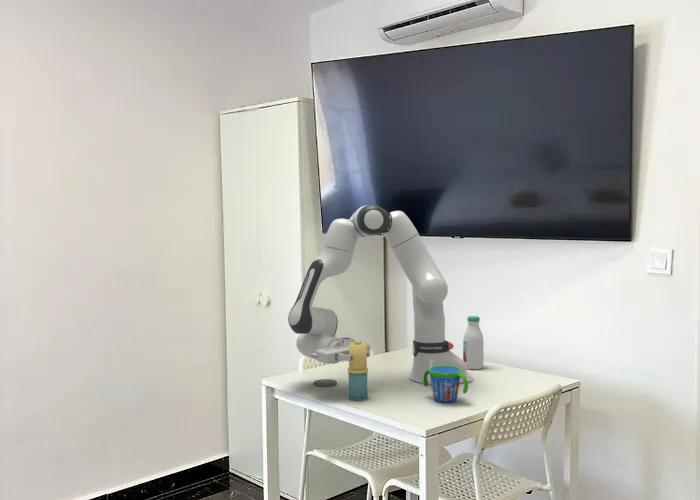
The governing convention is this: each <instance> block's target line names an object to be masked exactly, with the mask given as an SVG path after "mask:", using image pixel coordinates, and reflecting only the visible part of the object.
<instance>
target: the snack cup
mask: <svg viewBox="0 0 700 500" xmlns="http://www.w3.org/2000/svg"><path fill="white" fill-rule="evenodd" d="M428 373H429V374H430V377H431V384H432V385H431V389H432V396H433V399H434V401H436V402H439V403H452V402H456V401H457V399H458V396H459V395H458V394H459V387H460V383H459V381H460V377H461V378H462V379H463V382H464V383H463V391H462V394H466V393H467V392H468V390H469V384H468V383H469V382H467V379H466V376H465V375H464V374H463V373H462V372H461V369H460V368H458V367H454V366H435V367H431V368H430V369H429V370H427V371H426V372H425V374H424V378H423V383H422V384H423V387H428V386H429V384H428V381H427V375H428Z"/></svg>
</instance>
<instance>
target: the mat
mask: <svg viewBox="0 0 700 500" xmlns="http://www.w3.org/2000/svg"><path fill="white" fill-rule="evenodd" d="M313 385H314V386H315V387H319V388H320V387H321V388H330V387H335V386H337V385H338V381H337V380H335V379H330V378H321V379H316V380H314V381H313Z"/></svg>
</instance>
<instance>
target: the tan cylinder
mask: <svg viewBox="0 0 700 500" xmlns="http://www.w3.org/2000/svg"><path fill="white" fill-rule="evenodd" d="M366 343H367V342H364V343H363V341H361V340H356V341H355V342H353V343H349V355H352V361H348V367H347V373H348V374H349V373H354V374H361V373H366V372H367V373H368V372H369V367H368V364H367V363H368V357H367V344H366Z"/></svg>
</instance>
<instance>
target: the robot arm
mask: <svg viewBox="0 0 700 500" xmlns="http://www.w3.org/2000/svg"><path fill="white" fill-rule="evenodd" d="M414 225H415V224H413V222H412V220H411V219H410V218H409V217H408V215H406V213H405V212H404V211H402V210H394V211H391V212H389V211H387V210H385V208H382V207H381V206H379V205H377V204H367V205H362V206H360V207H359V208H358V209H356V210H354V212H353V213H352V214H350V216H349V217H348V219H347V218H336V219H334V220H333V221H332V222H331V223H330V225H329V228H328V229H327V232H326V235H325V238H324V240H323V245H322V249H321V251H320V253H319V255H318V257H317V258H316V259H315V260H314V261H312V262H311V264H310V265H309V268H308V270H307V272H306V275H305V276H304V280H303V282H302V285H301V287H300V289H299V292H298V295H297V297H296V300H295V302H294V304H293V306H292V307H291V309H290V311H289V313H288V317H287V322H288V325H289V327H290V329H291V330H292V332H293V333H295V334H299V335H298V336H297V338H296V343H295V345H296V348H297V351H299V353H301V354H302V355H303V356H304V357H307V358H309V359H314V360H316V361H317V362H320V363H323V364H325V365H326V364H327V365H328V364H334V365H335V364H337V363H339V362H343V361H344V362H345V361H346V362H349V361H352V355H349V343H353V342H355V341H357V340H356V339H355V340H354V338H353V337H337V336H336V333H337V330H338V324H339V322H338V321H339V320H338V316H337V314H336V313H335V311H334V310H333V309H330V308H326V307H325V308H323V307H318V306H313V303H314V300H315V297H316V295H317V294H318V293H317V292H318V290H319V287H320V286H321V284H322V283H323V281H324V280H326V279H328V278H332V277H336V276H338V275H341V274H343V273H344V272H346V271H348V269H349V268H350V266H351V264H352V260H353V257H354V252H355V248H356V247H355V246H356V244H357V241H358V240H359V238H362V237H367V238H368V237H375V236H377V235H382V236H383V237H384V238H385V240H387V242H388V245H389V247H390V248H391V251H392V252H393V254H394V256H395V258H396V260H397V261H398V263H399V265H400V268H401V269H402V270H403V272H404V274H405V276H406V277H407V279H408V281H409V282H410V284H411V286H412V306H413V317H414V318H413V320H414V321H413V324H414V325H413V328H414V330H413V334H414V335H413V338H414V339H413V340H412V355H413V359H412V360H413V362H412V367H411V372H410V376H409V379H410V380H411V381H413V382H417V383H422V384H423V378H424V374H425V372H426V371H427V370H429V369H430V368H431V367H435V366H454V367H458V368H460V369H461V372H462V373H463V374H464V375H465V376H466V379H467V382H468V383H471V382H473V376H472V374H471V373H469V372H467V369H466V367H465V364H464V362H463V359H461V358H460V357H459V356H458V355H457V354H455V353H454V352H452V351H451V350H452V349H453V350H454V347H455V346H454V344H453V343H452V342H450V341H448V340H446V317H445V311H444V301H445V299H446V298H447V296H448V291H449V289H448V288H449V287H448V284H447V281H446V280H445V278H444V275H443V274H442V272H441V271H440V269H439V267H438V266H437V264H436V262H435V260H434V259H433V258H432V256H431V254H430V253H429V251H428V249H427V247H426V245H425V243H424V241H423V239H422V237H421V236H420V234H419V232H418V230H417V228H416V227H415V226H414ZM362 342H363V341H362ZM363 343H366V344H367V358H369V357H371V345H370V343H367V342H363ZM427 381H428V385H431V386H432V384H431V377H430V374H429V373H428V375H427ZM459 384H464V382H463V379H462V378H461V377H460V381H459Z"/></svg>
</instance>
